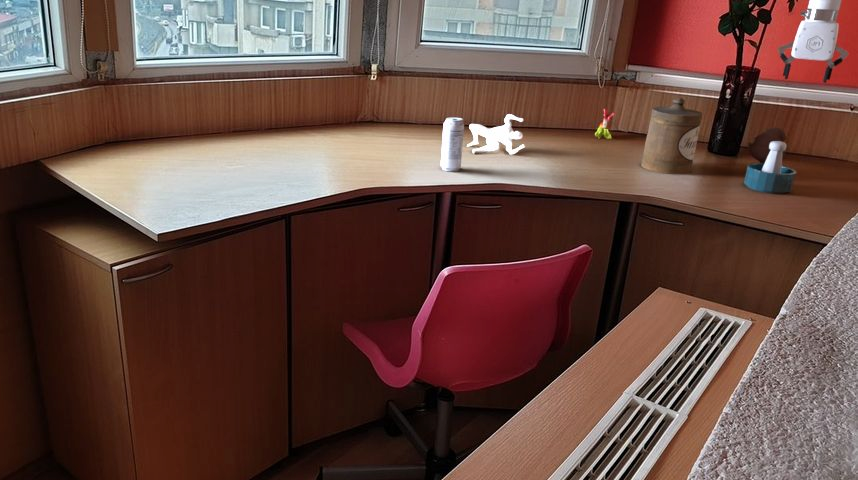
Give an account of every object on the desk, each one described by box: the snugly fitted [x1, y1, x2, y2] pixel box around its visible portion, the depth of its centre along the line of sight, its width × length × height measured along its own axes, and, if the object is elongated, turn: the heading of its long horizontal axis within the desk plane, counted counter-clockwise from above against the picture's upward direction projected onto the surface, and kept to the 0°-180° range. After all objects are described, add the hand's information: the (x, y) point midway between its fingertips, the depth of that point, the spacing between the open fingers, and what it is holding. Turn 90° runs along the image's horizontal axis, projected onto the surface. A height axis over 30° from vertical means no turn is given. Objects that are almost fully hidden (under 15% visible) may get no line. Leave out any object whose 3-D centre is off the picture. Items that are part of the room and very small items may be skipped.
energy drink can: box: [440, 116, 465, 172], centre depth 211 cm, size 6×6×15 cm
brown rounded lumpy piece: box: [747, 126, 789, 164], centre depth 220 cm, size 11×11×15 cm
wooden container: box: [640, 97, 703, 175], centre depth 222 cm, size 15×15×22 cm
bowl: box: [743, 162, 797, 195], centre depth 207 cm, size 13×13×6 cm
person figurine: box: [466, 113, 526, 156], centre depth 237 cm, size 13×13×18 cm
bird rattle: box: [594, 108, 616, 140], centre depth 264 cm, size 6×11×9 cm
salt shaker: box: [761, 141, 787, 174], centre depth 205 cm, size 6×6×13 cm
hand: (805, 80), depth 202 cm, fingers open, 9 cm apart
